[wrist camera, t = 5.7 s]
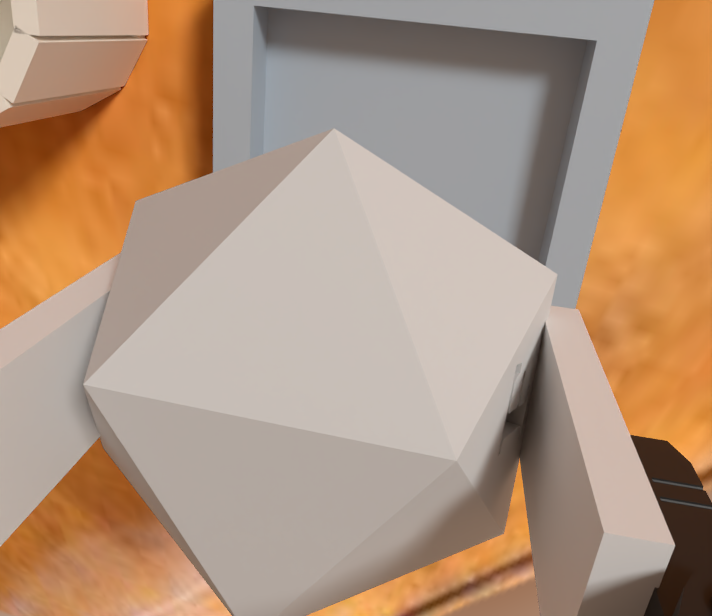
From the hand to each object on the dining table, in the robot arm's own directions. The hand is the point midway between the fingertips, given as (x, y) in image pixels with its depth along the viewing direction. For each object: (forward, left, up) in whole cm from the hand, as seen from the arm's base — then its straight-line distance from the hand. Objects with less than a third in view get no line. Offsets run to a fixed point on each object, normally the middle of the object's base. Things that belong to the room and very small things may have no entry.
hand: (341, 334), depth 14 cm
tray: (0, 0, -17) cm, 17 cm away
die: (0, 0, -3) cm, 3 cm away
